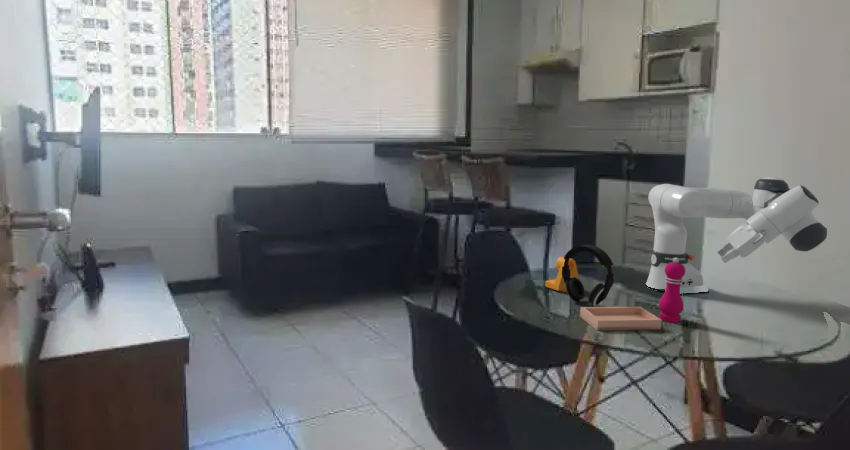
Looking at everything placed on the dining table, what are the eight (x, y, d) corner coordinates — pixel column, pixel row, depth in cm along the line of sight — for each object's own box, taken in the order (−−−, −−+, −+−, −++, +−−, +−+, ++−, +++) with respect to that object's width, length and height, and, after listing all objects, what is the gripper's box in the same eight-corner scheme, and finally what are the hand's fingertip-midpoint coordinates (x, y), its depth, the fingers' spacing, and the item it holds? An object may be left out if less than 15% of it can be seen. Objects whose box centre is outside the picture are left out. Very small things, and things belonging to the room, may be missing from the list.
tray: (639, 315, 190) (640, 306, 189) (660, 329, 177) (661, 319, 177) (579, 316, 187) (580, 307, 186) (597, 330, 174) (598, 320, 174)
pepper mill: (681, 317, 189) (687, 256, 186) (682, 324, 182) (690, 261, 179) (656, 314, 192) (663, 254, 188) (657, 321, 185) (664, 258, 181)
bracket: (564, 284, 225) (567, 253, 223) (579, 289, 219) (581, 257, 217) (543, 288, 219) (546, 256, 217) (558, 293, 213) (560, 260, 211)
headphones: (614, 308, 197) (620, 249, 194) (602, 312, 192) (608, 252, 188) (568, 295, 210) (572, 240, 206) (555, 299, 204) (560, 242, 201)
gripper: (776, 242, 165) (732, 273, 169) (762, 231, 183) (723, 258, 188) (760, 225, 165) (717, 256, 170) (748, 215, 184) (710, 243, 189)
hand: (720, 257), depth 179 cm, fingers open, 8 cm apart
